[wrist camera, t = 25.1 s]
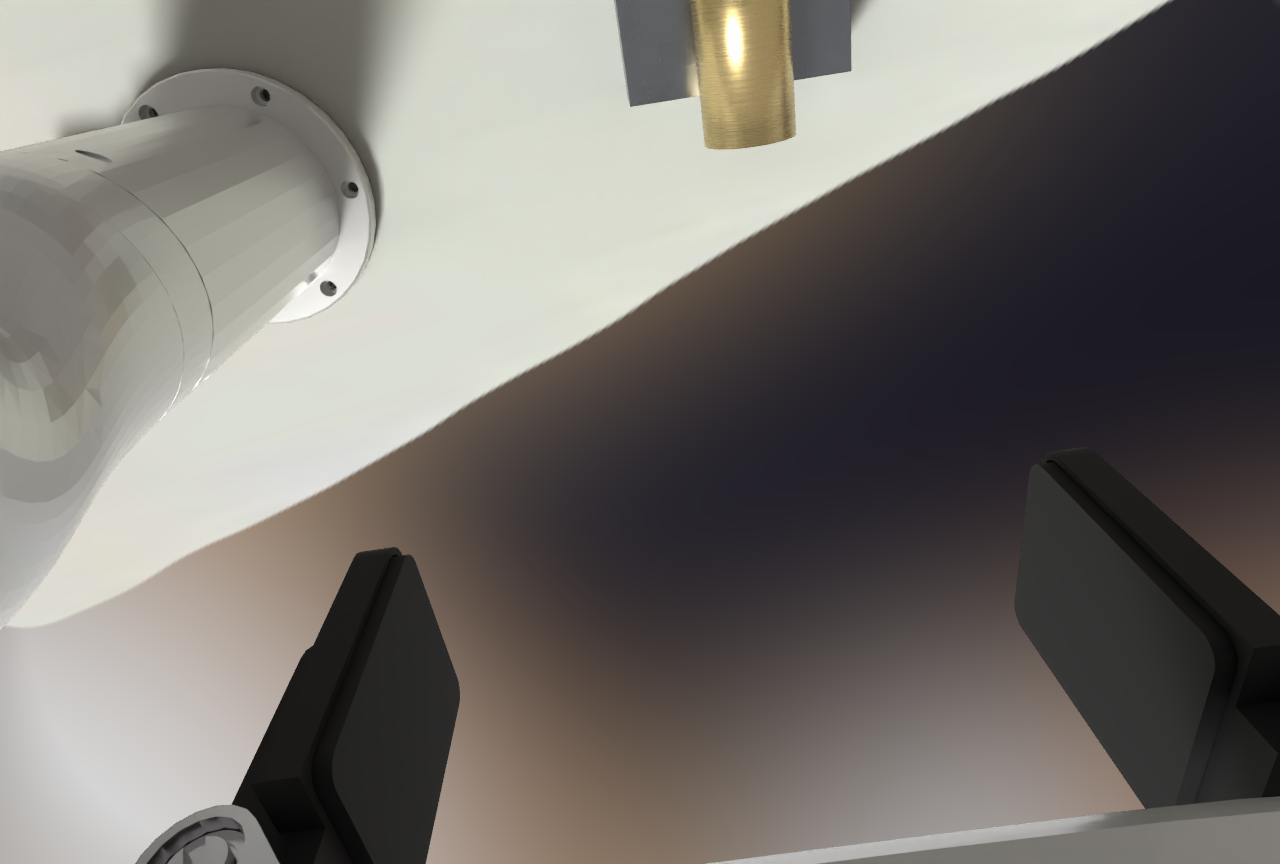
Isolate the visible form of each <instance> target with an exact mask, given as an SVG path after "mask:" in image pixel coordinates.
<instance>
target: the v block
mask: <svg viewBox="0 0 1280 864" xmlns="http://www.w3.org/2000/svg"><path fill="white" fill-rule="evenodd" d="M614 2H615V9H616V16H617V23H618V30H619V37H620V45H621V52H622V59H623V66H624V73H625V80H626V87H627V94H628V100H629V103H630V107H632V106H638V105H644V104H650V103H657V102H663V101H669V100H675V99H681V98H687V97H694V96H700V91H699V81H698V71H697V61H696V51H695V41H694V31H693V21H692V11H691V1H690V0H614ZM790 9H791V32H792V54H793V76H794V80H799V79H805V78H811V77H817V76H823V75H830V74H836V73H842V72H848V71H851V4H850V0H790Z"/></svg>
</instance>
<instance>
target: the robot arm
mask: <svg viewBox="0 0 1280 864" xmlns="http://www.w3.org/2000/svg"><path fill="white" fill-rule="evenodd" d="M264 90H267V91H268V93H269V94H270V100H267V99H265V98H264V96H263V91H264ZM154 109H155V110H156V112H157V113H158V117H156V116H155V115H154V112H153V110H154ZM351 182H354V183H355V184H356V185H357V187H358V191H354V190H352V189H351V187H350V183H351ZM375 228H376V219H375V204H374V198H373V195H372V191H371V187H370V183H369V179H368V176H367V174H366V172H365V170H364V167H363V165H362V163H361V161H360V159H359V156H358V154H357V153H356V151H355V150H354V148H353V147H352V145H351V144H350V142H349V141H348V139H347V138H346V136H345V135H344V133H343V132H342V131H341V130H340V128H339V127H338V126H337V125H336V124H335V123H334V122H333V121H332V120H331V119H330V118H329V117H328V116H327V114H326V113H325V112H324V111H323V110H321V109H320V108H319V107H317V106H316V105H315V104H314V103H312V102H311V101H310V100H308V99H307V98H306V97H305V96H303V95H302V94H301V93H299V92H297V91H295V90H293V89H291V88H290V87H288V86H286V85H284V84H282V83H280V82H279V81H277V80H274V79H271V78H268V77H265V76H262V75H259V74H256V73H253V72H249V71H243V70H236V69H229V68H214V69H199V70H194V71H189V72H183V73H179V74H176V75H174V76H172V77H169V78H167V79H164V80H162V81H160V82H157V83H156V84H155V85H153V86H152V87H151V88H149V89H148V90H147V91H145V92H144V93H143V94H141V95H140V96H139V97H138V98H137V99H136V101H135V102H134V103H133V104H132V106H131V107H130V108H129V109H128V111H127V112H126V113H125V115H124V117H123V119H122V121H121V124H120V125H117V126H113V127H108V128H104V129H99V130H95V131H90V132H86V133H81V134H77V135H72V136H68V137H63V138H59V139H54V140H50V141H45V142H41V143H36V144H32V145H27V146H23V147H18V148H14V149H9V150H5V151H0V630H1V629H2V628H3V627H4V626H5V624H6V623H7V622H8V621H9V620H10V619H11V618H12V617H13V616H14V615H15V614H16V613H17V611H18V610H19V609H20V608H21V607H22V606H23V605H24V603H25V602H26V601H27V600H28V598H29V597H30V596H31V595H32V594H33V592H34V591H35V590H36V589H37V588H38V586H39V585H40V584H41V582H42V581H43V580H44V578H45V577H46V576H47V574H48V573H49V572H50V570H51V569H52V567H53V566H54V564H55V563H56V561H57V560H58V558H59V557H60V555H61V553H62V552H63V550H64V549H65V547H66V546H67V544H68V542H69V541H70V539H71V537H72V535H73V534H74V532H75V530H76V529H77V527H78V525H79V524H80V522H81V520H82V518H83V517H84V515H85V513H86V512H87V510H88V508H89V506H90V505H91V503H92V501H93V500H94V498H95V496H96V494H97V493H98V491H99V490H100V488H101V487H102V485H103V484H104V482H105V481H106V479H107V478H108V476H109V475H110V474H111V472H112V471H113V470H114V469H115V467H116V466H117V465H118V463H119V462H120V461H121V460H122V459H123V458H124V456H125V455H126V454H127V453H128V452H129V451H130V450H131V449H132V448H133V447H134V445H135V444H136V443H137V442H138V441H139V440H140V439H141V438H142V437H143V436H144V435H145V434H146V433H147V432H148V431H149V430H150V429H151V428H152V427H153V426H154V425H155V424H157V423H158V422H159V421H160V420H161V419H162V418H163V417H164V416H165V415H166V414H167V413H168V412H169V411H171V410H172V409H173V408H174V407H175V406H176V405H177V404H178V403H179V402H181V401H182V400H183V399H184V398H185V397H186V396H188V395H189V394H190V393H191V392H192V391H193V390H194V389H196V388H197V387H198V386H199V385H200V384H201V383H202V382H203V381H204V380H206V379H207V378H208V377H209V376H210V375H211V374H212V373H213V372H214V371H215V370H217V369H218V368H219V367H220V366H221V365H222V364H223V363H224V362H225V361H226V360H227V359H229V358H230V357H231V356H232V355H233V354H234V353H235V352H236V351H237V350H238V349H240V348H241V347H242V346H243V345H244V344H245V343H246V342H247V341H248V340H249V339H251V338H252V337H253V336H254V335H255V334H256V333H257V332H258V331H259V330H260V329H262V328H263V327H264V326H265V325H266V324H275V323H290V322H294V321H298V320H302V319H306V318H309V317H312V316H314V315H316V314H318V313H320V312H322V311H324V310H326V309H328V308H329V307H331V306H332V305H333V304H334V303H336V302H337V301H338V300H340V299H341V298H342V297H343V296H344V295H345V294H346V293H347V292H348V291H349V290H350V289H351V288H352V287H353V286H354V284H355V283H356V282H357V280H358V279H359V277H360V275H361V274H362V272H363V271H364V269H365V267H366V265H367V262H368V260H369V257H370V254H371V251H372V248H373V243H374V236H375ZM329 281H331V282H333V283H334V284H335V286H336V288H334V287H332V286H331V285H330V284H329ZM1015 612H1016V615H1017V619H1018V621H1019V624H1020V626H1021V627H1022V629H1023V630H1024V632H1025V633H1026V635H1027V636H1028V638H1029V639H1030V641H1031V642H1032V644H1033V645H1034V646H1035V648H1036V649H1037V651H1038V652H1039V654H1040V655H1041V657H1042V658H1043V660H1044V661H1045V663H1046V664H1047V665H1048V667H1049V668H1050V669H1051V671H1052V673H1053V674H1054V676H1055V677H1056V679H1057V680H1058V682H1059V683H1060V685H1061V686H1062V687H1063V689H1064V690H1065V692H1066V693H1067V695H1068V696H1069V698H1070V699H1071V701H1072V702H1073V704H1074V705H1075V707H1076V708H1077V709H1078V711H1079V712H1080V714H1081V715H1082V717H1083V718H1084V720H1085V721H1086V723H1087V724H1088V726H1089V727H1090V728H1091V730H1092V731H1093V733H1094V734H1095V736H1096V737H1097V739H1098V740H1099V742H1100V743H1101V745H1102V746H1103V748H1104V749H1105V750H1106V752H1107V753H1108V755H1109V756H1110V758H1111V759H1112V761H1113V762H1114V764H1115V765H1116V767H1117V768H1118V769H1119V771H1120V772H1121V774H1122V775H1123V777H1124V778H1125V780H1126V781H1127V782H1128V784H1129V785H1130V787H1131V788H1132V790H1133V791H1134V793H1135V794H1136V796H1137V797H1138V798H1139V800H1140V801H1141V803H1142V805H1143V806H1144V807H1145V809H1141V810H1131V811H1122V812H1113V813H1104V814H1096V815H1088V816H1081V817H1072V818H1064V819H1056V820H1047V821H1040V822H1031V823H1024V824H1016V825H1007V826H999V827H991V828H982V829H975V830H967V831H958V832H950V833H942V834H934V835H926V836H918V837H910V838H902V839H894V840H886V841H878V842H871V843H863V844H855V845H847V846H839V847H832V848H824V849H816V850H809V851H800V852H793V853H785V854H777V855H770V856H762V857H755V858H747V859H739V860H731V861H724V862H716V863H708V864H1280V615H1278V614H1277V613H1276V612H1275V611H1274V610H1273V609H1272V608H1271V607H1269V606H1268V605H1267V604H1266V603H1265V602H1264V601H1263V600H1261V599H1260V598H1259V597H1258V596H1257V595H1256V594H1255V593H1254V592H1252V591H1251V590H1250V589H1249V588H1248V587H1247V586H1246V585H1244V584H1243V583H1242V582H1241V581H1240V580H1239V579H1238V578H1237V577H1236V576H1234V575H1233V574H1232V573H1231V572H1230V571H1229V570H1228V569H1226V568H1225V567H1224V566H1223V565H1222V564H1221V563H1220V562H1219V561H1217V560H1216V559H1215V558H1214V557H1213V556H1212V555H1211V554H1209V553H1208V552H1207V551H1206V550H1205V549H1204V548H1203V547H1202V546H1201V545H1199V544H1198V543H1197V542H1196V541H1195V540H1194V539H1193V538H1192V537H1190V536H1189V535H1188V534H1187V533H1186V532H1185V531H1184V530H1183V529H1181V528H1180V527H1179V526H1178V525H1177V524H1176V523H1175V522H1173V521H1172V520H1171V519H1170V518H1169V517H1168V516H1167V515H1166V514H1164V513H1163V512H1162V511H1161V510H1160V509H1159V508H1158V507H1156V506H1155V505H1154V504H1153V503H1152V502H1151V501H1149V499H1148V498H1146V497H1145V496H1144V495H1143V494H1142V493H1141V492H1140V491H1139V490H1137V489H1136V488H1135V487H1134V486H1133V485H1132V484H1131V483H1129V482H1128V481H1127V480H1126V479H1125V478H1124V477H1123V476H1122V475H1121V474H1119V473H1118V472H1117V471H1116V470H1115V469H1113V467H1111V466H1110V465H1109V464H1108V463H1107V462H1106V461H1104V459H1102V458H1101V457H1100V456H1099V455H1098V454H1097V453H1096V452H1094V451H1093V450H1092V449H1090V448H1085V447H1084V448H1077V449H1069V450H1062V451H1056V452H1049V453H1046V454H1044V455H1043V457H1042V459H1041V461H1040V464H1035V465H1033V466H1032V468H1031V470H1030V474H1029V482H1028V490H1027V500H1026V508H1025V516H1024V525H1023V534H1022V542H1021V551H1020V560H1019V568H1018V577H1017V586H1016V594H1015ZM459 701H460V691H459V682H458V679H457V676H456V673H455V670H454V668H453V665H452V662H451V660H450V657H449V654H448V651H447V648H446V645H445V643H444V640H443V637H442V635H441V632H440V629H439V626H438V623H437V621H436V618H435V615H434V613H433V609H432V607H431V604H430V601H429V598H428V596H427V593H426V590H425V588H424V585H423V582H422V579H421V576H420V574H419V571H418V568H417V565H416V562H415V560H414V558H413V557H412V556H411V555H403V556H402V554H401V552H400V551H399V549H398V548H395V547H392V548H385V549H378V550H372V551H364V552H359V553H357V554H356V556H355V557H354V559H353V561H352V563H351V565H350V567H349V570H348V572H347V574H346V576H345V578H344V580H343V583H342V585H341V587H340V589H339V591H338V593H337V595H336V598H335V600H334V602H333V604H332V606H331V608H330V611H329V613H328V615H327V617H326V619H325V621H324V624H323V626H322V628H321V630H320V632H319V634H318V637H317V639H316V641H315V643H314V645H313V646H312V647H310V648H309V649H307V650H306V651H305V653H304V654H303V656H302V657H301V659H300V661H299V663H298V666H297V668H296V670H295V672H294V674H293V676H292V678H291V680H290V682H289V684H288V687H287V689H286V691H285V693H284V695H283V697H282V699H281V701H280V704H279V706H278V708H277V710H276V712H275V714H274V716H273V718H272V720H271V722H270V725H269V727H268V729H267V731H266V733H265V735H264V737H263V739H262V742H261V744H260V746H259V748H258V750H257V752H256V754H255V756H254V759H253V760H252V763H251V765H250V767H249V769H248V771H247V773H246V775H245V777H244V779H243V782H242V784H241V786H240V788H239V790H238V792H237V794H236V796H235V799H234V801H233V803H232V805H221V806H214V807H211V808H208V809H204V810H201V811H198V812H196V813H194V814H192V815H190V816H188V817H186V818H184V819H183V820H181V821H179V822H177V823H175V824H174V825H173V826H172V827H170V828H169V829H168V830H167V831H165V832H164V833H163V834H161V835H160V836H159V837H158V838H156V839H155V841H154V842H153V843H152V844H151V845H150V846H149V847H148V848H147V849H146V850H145V851H144V852H143V854H142V855H141V856H140V857H139V859H138V860H137V862H136V864H425V863H426V859H427V854H428V849H429V845H430V840H431V835H432V830H433V826H434V821H435V816H436V812H437V807H438V802H439V797H440V792H441V788H442V783H443V778H444V774H445V768H446V764H447V759H448V755H449V750H450V745H451V741H452V735H453V731H454V726H455V721H456V717H457V712H458V707H459Z"/></svg>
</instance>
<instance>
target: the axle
mask: <svg viewBox="0 0 1280 864" xmlns="http://www.w3.org/2000/svg"><path fill="white" fill-rule="evenodd" d="M690 1H691V11H692V21H693V31H694V41H695V51H696V61H697V71H698V81H699V91H700V102H701V112H702V122H703V132H704V142H705V147H707V148H710V149H739V148H748V147H755V146H762V145H767V144H772V143H776V142H780V141H784V140H787V139H789V138H792V137H794V136H795V135H796V121H795V99H794V76H793V54H792V32H791V9H790V0H690Z"/></svg>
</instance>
